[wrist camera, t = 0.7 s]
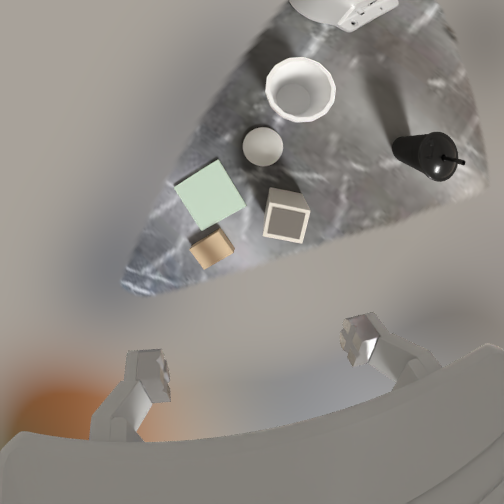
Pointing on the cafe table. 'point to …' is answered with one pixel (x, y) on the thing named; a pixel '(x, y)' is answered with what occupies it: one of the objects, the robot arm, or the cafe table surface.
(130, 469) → the robot arm
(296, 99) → the foam cup
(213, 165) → the mat
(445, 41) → the cafe table surface
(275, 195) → the canister
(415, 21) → the cafe table surface
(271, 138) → the white pebble stone
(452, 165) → the drinking cup
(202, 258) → the oak block
